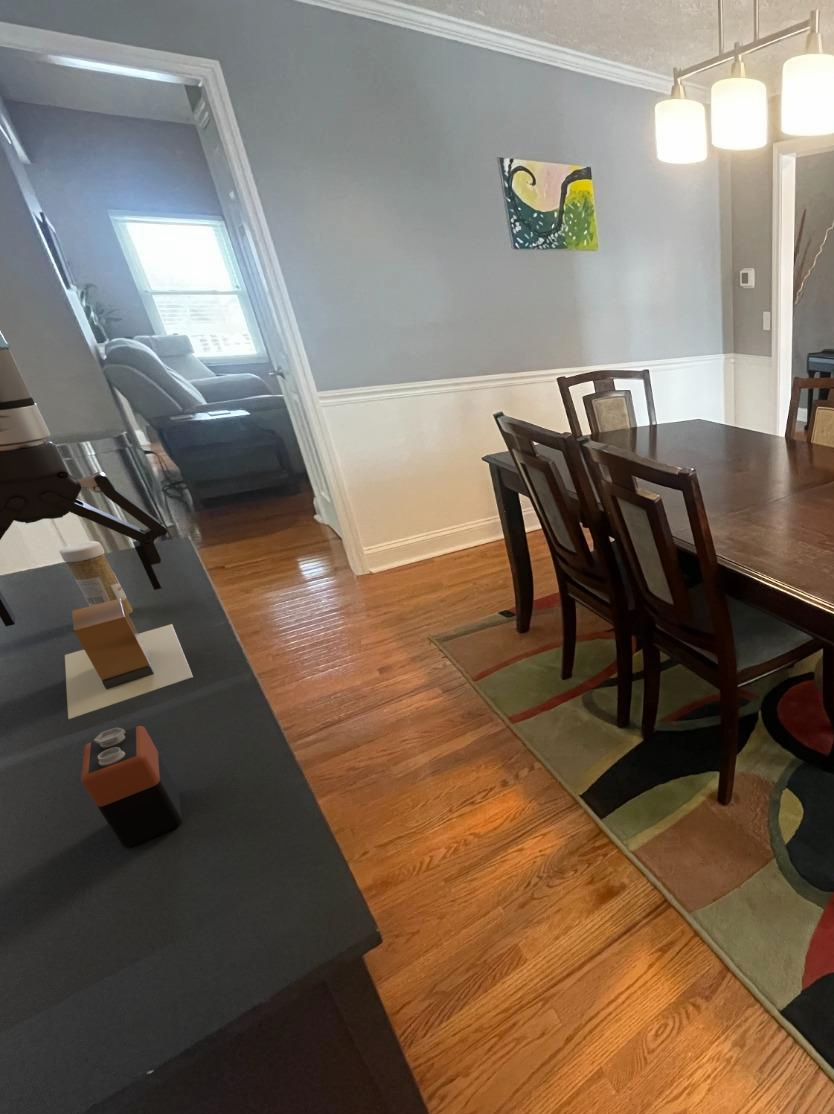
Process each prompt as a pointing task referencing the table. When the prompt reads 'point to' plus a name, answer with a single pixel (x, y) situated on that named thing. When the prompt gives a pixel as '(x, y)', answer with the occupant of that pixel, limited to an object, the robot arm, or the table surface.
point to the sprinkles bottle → (94, 573)
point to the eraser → (112, 643)
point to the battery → (131, 785)
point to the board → (92, 694)
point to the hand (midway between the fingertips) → (88, 603)
